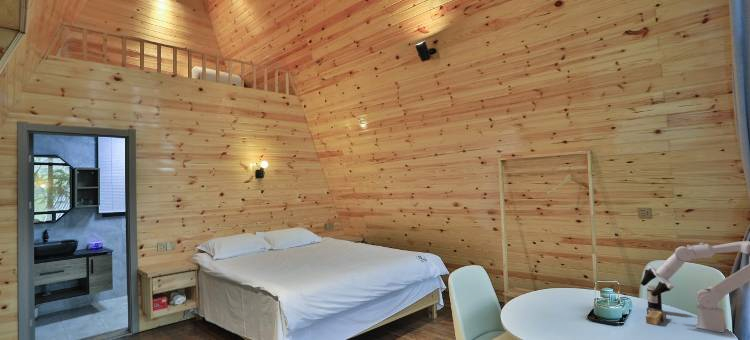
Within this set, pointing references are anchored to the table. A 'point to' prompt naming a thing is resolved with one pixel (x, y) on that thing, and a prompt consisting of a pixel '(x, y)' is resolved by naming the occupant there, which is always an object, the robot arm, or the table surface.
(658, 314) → the orange brown rectangular block
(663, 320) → the dispenser
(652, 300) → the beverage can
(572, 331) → the table surface
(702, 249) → the robot arm
